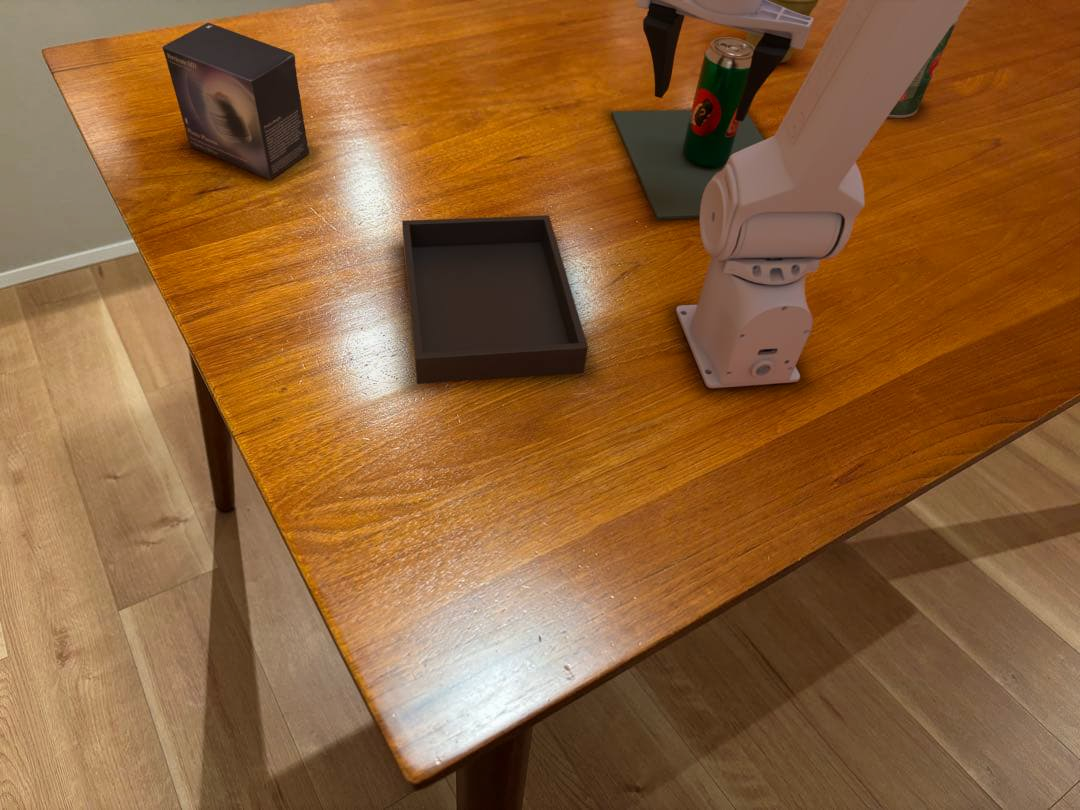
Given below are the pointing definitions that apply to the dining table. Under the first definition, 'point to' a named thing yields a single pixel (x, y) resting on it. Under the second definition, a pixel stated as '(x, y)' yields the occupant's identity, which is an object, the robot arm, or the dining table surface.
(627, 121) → the mat
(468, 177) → the dining table surface
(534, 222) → the tray
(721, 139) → the soda can
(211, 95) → the small box
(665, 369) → the dining table surface
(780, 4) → the plant pot
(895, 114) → the canned tomato
